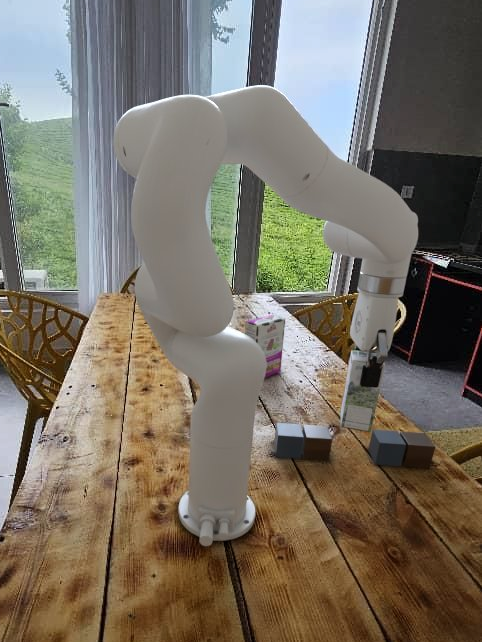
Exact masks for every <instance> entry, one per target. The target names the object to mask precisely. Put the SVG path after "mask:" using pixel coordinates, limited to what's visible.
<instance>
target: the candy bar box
mask: <svg viewBox="0 0 482 642" xmlns="http://www.w3.org/2000/svg"><path fill="white" fill-rule="evenodd" d="M285 327H286V318H285V317H282V316H279V315H276V314H270V315H267V316H262V317H258V318H253V319H250V320H246V321H245V328H244V334H246V335H247V336H249V337H250V338H252V339H253V340H254V341H255V342H256V343H257V344H258V345H259V346H260V347H261V349H262V350H263V352H264V354H265V357H266V363H267V368H266V374H265V378H264V379H266V378H268V377H272V376H274V375H276V374H279V373H281V370H282V369H281V368H282V360H283V359H282V358H283V348H284V337H285Z"/></svg>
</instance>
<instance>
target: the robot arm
mask: <svg viewBox="0 0 482 642" xmlns="http://www.w3.org/2000/svg"><path fill="white" fill-rule="evenodd" d="M112 144H113V152H114V155H115V157H116V160H117V161H118V164H119V166H121V168H122V169H123V171H125V172H126V173H127V174H128V175H130V176H131V177H132V178H134V179H136V180H135V184H134V187H133V193H132V198H131V205H130V223H131V230H132V234H133V238H134V241H135V244H136V246H137V249H138V251H139V254H140V255H141V256H140V257H141V258H142V261H143V263H142V264H141V266H140V267H139V268H138V271H137V273H136V276H135V280H134V297H135V301H136V304H137V306H138V308H139V310H140V313H141V314H142V316H143V318H144V320H145V322H146V324H147V326H148V328H149V330H150V332H151V333H152V335H153V337H154V339H155V340H156V342H157V344H158V346H159V348H160V350H161V351H162V353H163V354H164V356H165V358H166V359H167V361H168V362H169V363H170V364H171V365H172V366H173V367H174V368H175V369H176V370H178V371H179V372H181V373H182V374H184V376H186V377H188V378H189V379H191V381H193V382H194V383H195V384H197V385H198V387H199V394H198V395H199V396H198V398H197V400H196V402H195V403H194V405H193V406H192V409H191V415H190V421H189V422H190V424H189V426H190V427H189V431H190V432H189V460H188V463H189V464H188V470H189V471H188V491H186V492H185V493H184V494H183V495H182V497H180V500H179V504H178V508H177V509H178V511H177V512H178V513H177V514H178V519H179V520H180V522H181V525H183V527H184V528H185V529H186V530H187V531H188V532H189V533H191V534H193V535H195V536H196V537H198V538H199V539H198V540H199V541H198V542H199V544H200V545H201V546H203V547H210V546H211V545H212V544H213V541H214V542H215V541H217V542H225V541H230V540H234V539H238V538H239V537H242V536H243V535H245V534H246V533H248V532H249V531H250V530H251V529H252V527H253V525H254V523H255V519H256V506H255V504H254V502H253V500H252V498H251V497H250V496H249V495H248V493H249V482H250V471H251V461H252V449H253V438H254V428H255V427H254V425H255V417H256V411H257V406H258V401H259V397H260V393H261V391H262V387H263V385H264V382H265V379H266V378H265V374H266V368H267V363H266V357H265V354H264V352H263V350H262V349H261V347H260V346H259V345H258V344H257V343H256V342H255V341H254V340H253V339H252V338H250V337H249V336H247V335H246V334H245V332H242V331H240V330H237V329H236V328H233V327H231V326H230V323H231V322H232V319H233V316H234V310H235V302H234V296H233V293H232V289H231V286H230V284H229V282H228V279H227V276H226V274H225V271H224V268H223V266H222V264H221V261H220V258H219V255H218V253H217V250H216V247H215V245H214V242H213V240H212V236H211V234H210V230H209V227H208V223H207V215H206V213H207V212H206V211H207V210H206V207H207V201H208V196H209V193H210V189H211V187H212V184H213V182H214V179H215V177H216V175H217V173H218V171H219V169H220V167H221V165H243V166H245V167H247V168H248V169H249V170H250V171H251V172H252V173H253V174H254V175H256V176H257V178H259V179H261V181H262V182H263V183H265V184H266V185H267V186H268V187H269V188H270V189H271V190H272V191H273V192H274V193H275V194H276V195H277V196H278V197H279V198H280V199H281V200H282V201H284V202H285V204H286V205H288V206H289V207H291V209H293V210H295V211H298V212H300V213H302V214H304V215H307V216H309V217H312V218H315V219H318V220H322V221H325V222H324V225H323V228H322V239H323V242H324V245H326V247H327V248H328V249H329V250H330V251H332V252H333V253H335V254H338V255H341V256H344V257H349V258H354V259H362V261H361V265H360V272H359V277H358V283H357V289H356V290H357V293H358V294H357V298H356V302H355V306H354V310H353V315H352V320H351V324H350V330H349V337H350V338H351V339H352V341H353V343H354V344H353V350H356V351H365V352H366V362H365V365H363V369H362V374H361V379H360V386H361V387H374V388H377V387H378V386H379V381H380V376H381V371H382V368H383V363H385V361H386V360H387V358H388V352H389V351H390V349H391V347H392V346H391V345H392V342H393V337H394V334H395V333H394V332H395V327H396V320H397V313H398V306H399V305H398V303H399V298H402V297H403V296H404V291H405V286H406V283H407V282H406V281H407V276H408V273H409V268H410V263H411V257H412V255H413V254H412V253H413V252H414V250H415V248H416V246H417V244H418V240H419V226H418V223H419V217H418V215H417V213H416V212H414V211H412V210H411V208H410V207H409V206H408V204H407V203H406V201H404V199H403V198H402V197H401V195H400V194H399V193H398V192H397V191H396V190H394V189H393V188H392V187H391V186H389V185H388V184H387V183H386V182H384V181H381V179H378V178H377V177H375V176H373V175H372V174H369V173H367V172H365V171H364V170H362V169H360V168H359V167H357V166H355V165H353V164H352V163H350V162H348V161H346V160H344V159H342V158H340V157H339V156H337V155H336V154H335V153H334V152H333V151H332V150H331V149H330V147H329V146H328V145H327V143H326V142H325V141H324V140H323V139H322V137H321V136H320V135H319V134H318V133H317V131H315V130H314V128H313V127H312V125H311V124H310V123H309V122H308V121H307V120H306V119H305V117H304V116H303V115H302V114H301V113H300V111H299V109H297V108H296V107H295V105H294V104H293V103H292V102H291V101H290V100H289V98H288V97H287V96H286V95H285V93H282V92H281V91H280V90H278V89H277V88H276V87H273V86H270V85H263V84H261V85H251V86H246V87H242V88H238V89H233V90H229V91H224V92H220V93H216V94H215V93H214V94H212V95H208V96H201V95H197V94H182V95H181V94H180V95H176V96H175V95H174V96H171V97H166V98H163V99H160V100H156V101H153V102H148V103H145V104H141V105H137V106H134V107H132V108H130V109H129V110H127V111H126V112H125V113H124V114H122V116H121V117H120V119H119V120H118V121H117V123H116V126H115V128H114V132H113V138H112ZM373 347H375V348H376V349H372V348H373ZM371 353H376V356H373V357H372V359H371Z"/></svg>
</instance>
